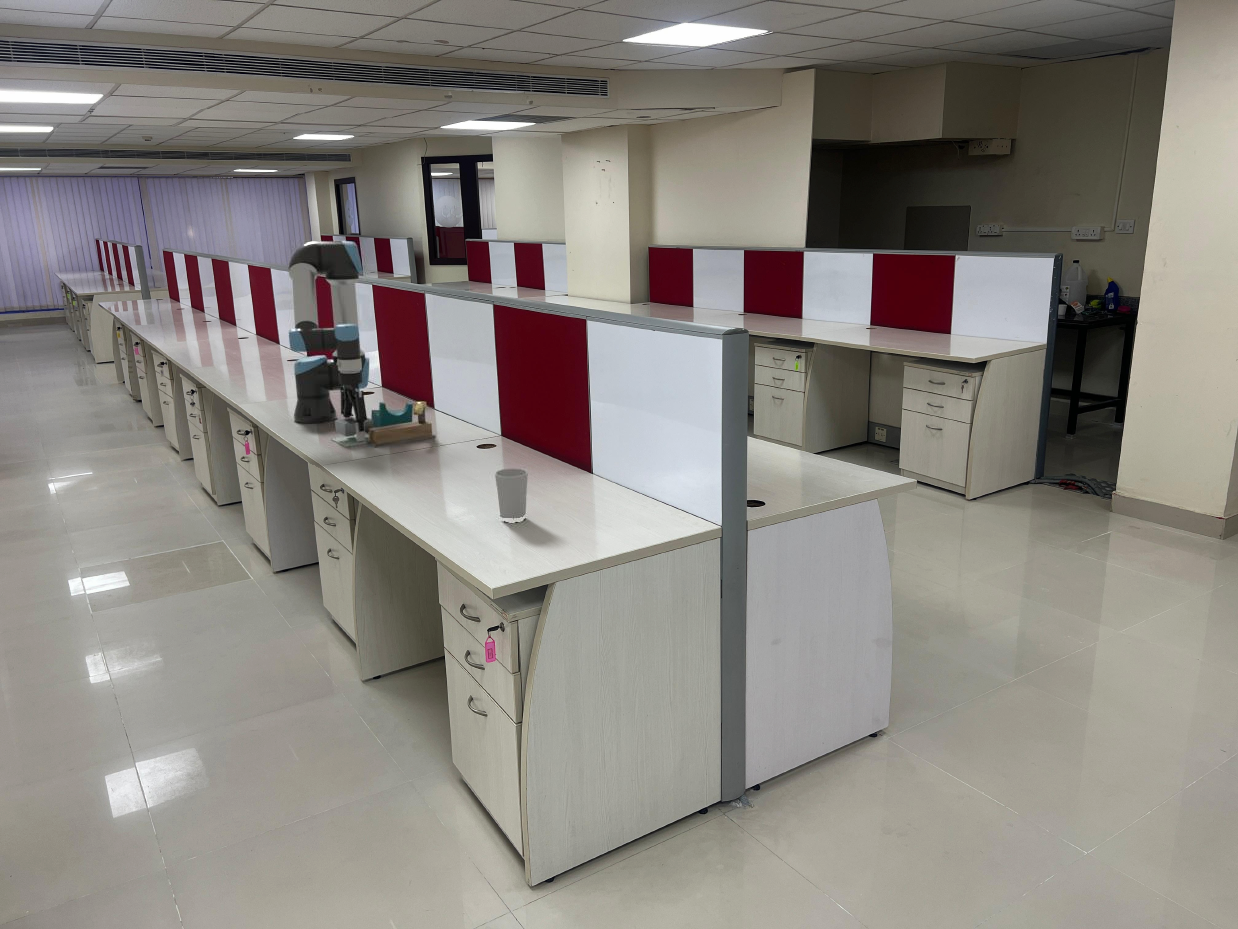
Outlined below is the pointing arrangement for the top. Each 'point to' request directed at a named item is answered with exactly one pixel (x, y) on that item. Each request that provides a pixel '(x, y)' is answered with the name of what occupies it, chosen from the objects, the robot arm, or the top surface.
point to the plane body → (401, 433)
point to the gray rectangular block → (351, 426)
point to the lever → (419, 408)
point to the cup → (512, 492)
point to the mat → (351, 441)
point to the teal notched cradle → (391, 415)
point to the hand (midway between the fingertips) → (355, 438)
